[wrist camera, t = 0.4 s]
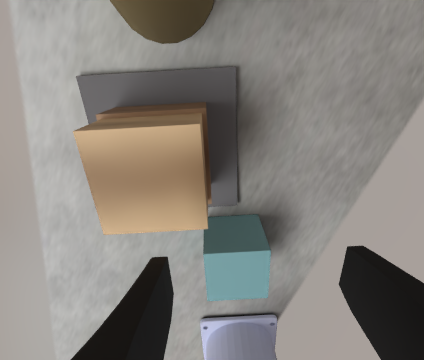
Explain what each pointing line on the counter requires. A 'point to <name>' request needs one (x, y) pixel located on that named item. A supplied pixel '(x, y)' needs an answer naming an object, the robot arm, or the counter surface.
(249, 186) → the counter surface
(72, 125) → the counter surface
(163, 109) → the walnut base block
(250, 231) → the teal block
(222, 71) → the coaster mat
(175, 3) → the cork
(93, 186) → the oak top block
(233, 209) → the counter surface
